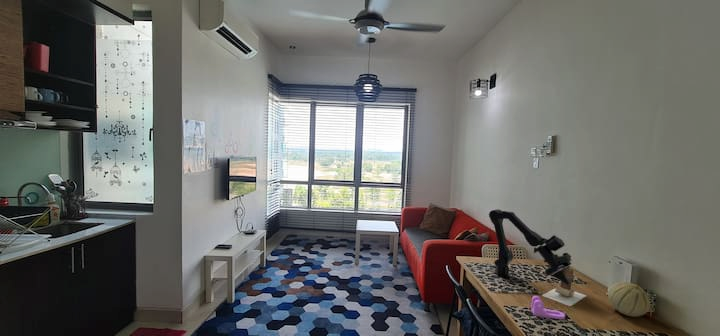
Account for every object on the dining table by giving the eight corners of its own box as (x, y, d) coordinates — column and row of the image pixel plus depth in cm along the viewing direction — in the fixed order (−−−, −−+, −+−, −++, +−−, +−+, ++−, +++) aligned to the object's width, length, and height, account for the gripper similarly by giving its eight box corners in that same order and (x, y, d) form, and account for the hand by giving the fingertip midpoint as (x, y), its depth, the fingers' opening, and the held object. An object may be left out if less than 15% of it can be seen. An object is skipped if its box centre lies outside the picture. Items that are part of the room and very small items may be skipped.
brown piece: (568, 296, 155) (572, 270, 156) (555, 291, 160) (559, 266, 161) (573, 296, 159) (577, 270, 160) (560, 291, 164) (564, 267, 165)
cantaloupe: (607, 303, 155) (609, 273, 154) (647, 313, 145) (649, 282, 145) (606, 314, 143) (609, 283, 142) (650, 326, 134) (653, 293, 133)
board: (570, 308, 149) (570, 306, 148) (541, 297, 159) (541, 295, 159) (586, 297, 160) (586, 295, 160) (558, 287, 171) (558, 286, 171)
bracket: (533, 315, 142) (534, 300, 141) (531, 309, 147) (532, 295, 147) (566, 320, 138) (567, 305, 137) (562, 314, 143) (563, 299, 143)
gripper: (552, 251, 157) (576, 279, 149) (568, 245, 168) (591, 271, 159) (535, 261, 164) (557, 290, 155) (551, 255, 175) (573, 281, 166)
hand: (570, 283), depth 159 cm, fingers closed on brown piece, 5 cm apart
